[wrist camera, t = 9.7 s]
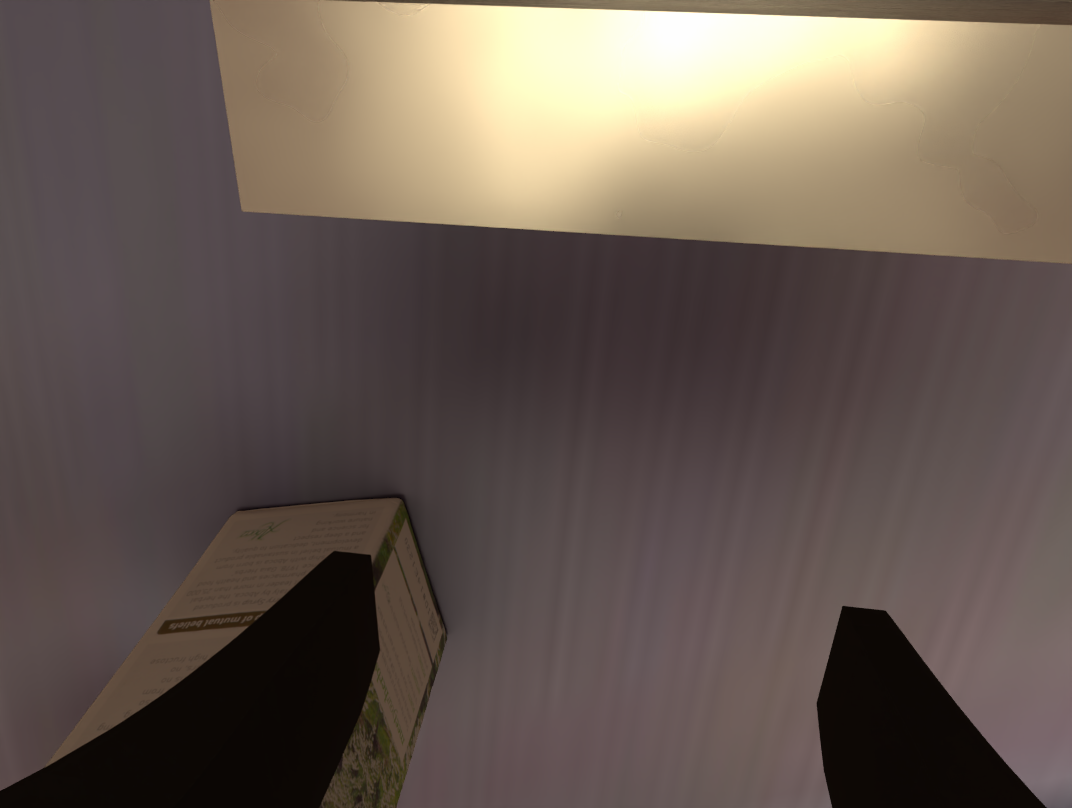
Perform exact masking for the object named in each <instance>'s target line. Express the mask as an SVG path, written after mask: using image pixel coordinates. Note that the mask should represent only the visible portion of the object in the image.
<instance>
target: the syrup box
mask: <svg viewBox="0 0 1072 808" xmlns="http://www.w3.org/2000/svg"><path fill="white" fill-rule="evenodd" d="M333 551H341V552H350V553H359V554H369V555H371V559H372V570H373V580H374V591H375V601H376V612H377V622H378V633H379V643H380V652H379V656H378V659H377V663H376V666H375V670H374V673H373V676H372V680H371V683H370V687H369V690H368V693H367V696H366V699H365V702H364V706H363V709H362V712H361V714H360V716H359V719H358V721H357V723H356V726H355V728H354V730H353V733H352V735H351V737H350V739H349V742H348V744H347V746H346V749H345V751H344V753H343V755H342V758H341V760H340V762H339V765H338V767H337V769H336V771H335V774H334V776H333V778H332V780H331V783H330V785H329V787H328V789H327V792H326V794H325V796H324V798H323V801H322V803H321V805H320V807H319V808H396V807H397V803H398V800H399V796H400V792H401V790H402V786H403V783H404V780H405V777H406V774H407V771H408V767H409V764H410V760H411V757H412V754H413V751H414V747H415V743H416V740H417V737H418V733H419V730H420V727H421V724H422V721H423V718H424V713H425V710H426V707H427V704H428V700H429V696H430V692H431V689H432V686H433V683H434V680H435V677H436V674H437V671H438V667H439V663H440V661H441V657H442V653H443V650H444V647H445V643H446V640H447V636H446V632H445V628H444V625H443V622H442V619H441V615H440V613H439V610H438V607H437V604H436V601H435V598H434V594H433V592H432V589H431V586H430V583H429V580H428V577H427V573H426V571H425V568H424V565H423V561H422V558H421V555H420V552H419V549H418V546H417V542H416V539H415V536H414V533H413V530H412V527H411V524H410V520H409V516H408V514H407V511H406V508H405V506H404V503H403V501H402V500H401V499H399V498H384V499H366V500H350V501H338V502H328V503H316V504H306V505H295V506H285V507H276V508H264V509H255V510H247V511H237V512H236V513H235V514H233V515H232V516H230V518H229V519H228V520H227V522H226V523H225V525H224V526H223V527H222V529H221V530H220V531H219V533H218V534H217V535H216V537H215V538H214V540H213V541H212V542H211V544H210V545H209V547H208V548H207V550H206V551H205V552H204V554H203V555H202V557H201V558H200V560H199V561H198V562H197V564H196V565H195V566H194V568H193V569H192V571H191V572H190V573H189V575H188V576H187V578H186V579H185V580H184V582H183V583H182V584H181V586H180V587H179V588H178V590H177V591H176V592H175V594H174V595H173V596H172V598H171V599H170V600H169V602H168V603H167V605H166V606H165V607H164V609H163V610H162V611H161V613H160V614H159V615H158V617H157V618H156V620H155V621H154V622H153V624H152V625H151V626H150V627H149V629H148V630H147V631H146V633H145V634H144V636H143V637H142V638H141V640H140V641H139V642H138V644H137V645H136V646H135V648H134V649H133V650H132V652H131V653H130V654H129V656H128V657H127V658H126V660H125V661H124V662H123V664H122V665H121V666H120V668H119V669H118V670H117V672H116V673H115V674H114V676H113V677H112V678H111V680H110V681H109V682H108V684H107V685H106V686H105V688H104V689H103V690H102V692H101V693H100V694H99V696H98V697H97V698H96V700H95V701H94V702H93V704H92V705H91V706H90V708H89V709H88V710H87V712H86V713H85V714H84V716H83V717H82V718H81V720H80V721H79V722H78V724H77V725H76V726H75V728H74V729H73V730H72V732H71V733H70V734H69V736H68V737H67V738H66V740H65V741H64V742H63V744H62V745H61V746H60V748H59V749H58V750H57V751H56V753H55V754H54V755H53V757H52V758H51V759H50V761H49V762H48V763H47V765H46V766H45V767H47V766H48V765H50V764H52V763H53V762H55V761H57V760H59V759H60V758H62V757H64V756H65V755H67V754H69V753H71V752H72V751H74V750H76V749H77V748H79V747H81V746H82V745H84V744H86V743H88V742H89V741H91V740H93V739H94V738H96V737H98V736H99V735H101V734H103V733H105V732H106V731H108V730H110V729H111V728H113V727H114V726H116V725H118V724H119V723H121V722H122V721H124V720H125V719H127V718H128V717H130V716H131V715H133V714H134V713H136V712H137V711H139V710H140V709H142V708H143V707H145V706H146V705H148V704H149V703H151V702H152V701H154V700H155V699H157V698H158V697H159V696H161V695H162V694H164V693H165V692H166V691H168V690H169V689H170V688H172V687H173V686H175V685H176V684H177V683H179V682H180V681H181V680H183V679H184V678H185V677H187V676H188V675H189V674H190V673H192V672H193V671H194V670H196V669H197V668H198V667H199V666H201V665H202V664H203V663H204V662H206V661H207V660H208V659H210V658H211V657H212V656H213V655H215V654H216V653H217V652H218V651H220V650H221V649H222V648H224V647H225V646H226V645H227V644H228V643H230V642H231V641H232V640H233V639H234V638H236V637H237V636H238V635H239V634H240V633H241V632H243V631H244V630H245V629H246V628H247V627H248V626H250V625H251V624H252V623H253V622H254V621H255V620H257V619H258V618H259V617H260V616H261V615H262V614H264V613H265V612H266V611H267V610H268V609H269V608H270V607H272V606H273V605H274V604H275V603H276V602H277V601H278V600H279V599H280V598H282V597H283V596H284V595H285V594H286V593H287V592H288V591H289V590H290V589H292V588H293V587H294V586H295V585H296V584H297V583H298V582H299V581H300V580H301V579H303V578H304V577H305V576H306V575H307V574H308V573H309V572H310V571H311V570H312V569H313V568H315V567H316V566H317V565H318V564H319V563H320V562H321V561H322V560H324V559H325V558H326V557H327V556H328V555H329V554H331V553H332V552H333ZM45 767H44V768H45Z"/></svg>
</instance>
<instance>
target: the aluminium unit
mask: <svg viewBox="0 0 1072 808" xmlns="http://www.w3.org/2000/svg"><path fill="white" fill-rule="evenodd" d="M210 6H211V12H212V19H213V25H214V32H215V38H216V45H217V52H218V58H219V65H220V71H221V78H222V84H223V91H224V97H225V104H226V111H227V117H228V124H229V130H230V137H231V143H232V150H233V157H234V163H235V170H236V176H237V183H238V189H239V196H240V203H241V209H242V211H245V212H261V213H277V214H293V215H308V216H324V217H340V218H356V219H372V220H388V221H404V222H419V223H435V224H451V225H467V226H483V227H499V228H514V229H530V230H546V231H562V232H578V233H594V234H610V235H625V236H641V237H657V238H673V239H689V240H705V241H720V242H736V243H752V244H768V245H784V246H800V247H816V248H831V249H847V250H863V251H879V252H895V253H911V254H927V255H942V256H958V257H974V258H990V259H1006V260H1022V261H1037V262H1053V263H1069V264H1072V0H210Z"/></svg>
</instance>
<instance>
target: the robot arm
mask: <svg viewBox="0 0 1072 808" xmlns="http://www.w3.org/2000/svg"><path fill="white" fill-rule="evenodd" d="M379 652H380V643H379V633H378V622H377V612H376V601H375V591H374V580H373V570H372V559H371V555H369V554H359V553H350V552H341V551H333V552H332V553H331V554H329V555H328V556H327V557H326V558H325V559H324V560H322V561H321V562H320V563H319V564H318V565H317V566H316V567H315V568H313V569H312V570H311V571H310V572H309V573H308V574H307V575H306V576H305V577H304V578H303V579H301V580H300V581H299V582H298V583H297V584H296V585H295V586H294V587H293V588H292V589H290V590H289V591H288V592H287V593H286V594H285V595H284V596H283V597H282V598H280V599H279V600H278V601H277V602H276V603H275V604H274V605H273V606H272V607H270V608H269V609H268V610H267V611H266V612H265V613H264V614H262V615H261V616H260V617H259V618H258V619H257V620H255V621H254V622H253V623H252V624H251V625H250V626H248V627H247V628H246V629H245V630H244V631H243V632H241V633H240V634H239V635H238V636H237V637H236V638H234V639H233V640H232V641H231V642H230V643H228V644H227V645H226V646H225V647H224V648H222V649H221V650H220V651H218V652H217V653H216V654H215V655H213V656H212V657H211V658H210V659H208V660H207V661H206V662H204V663H203V664H202V665H201V666H199V667H198V668H197V669H196V670H194V671H193V672H192V673H190V674H189V675H188V676H187V677H185V678H184V679H183V680H181V681H180V682H179V683H177V684H176V685H175V686H173V687H172V688H170V689H169V690H168V691H166V692H165V693H164V694H162V695H161V696H159V697H158V698H157V699H155V700H154V701H152V702H151V703H149V704H148V705H146V706H145V707H143V708H142V709H140V710H139V711H137V712H136V713H134V714H133V715H131V716H130V717H128V718H127V719H125V720H124V721H122V722H121V723H119V724H118V725H116V726H114V727H113V728H111V729H110V730H108V731H106V732H105V733H103V734H101V735H99V736H98V737H96V738H94V739H93V740H91V741H89V742H88V743H86V744H84V745H82V746H81V747H79V748H77V749H76V750H74V751H72V752H71V753H69V754H67V755H65V756H64V757H62V758H60V759H59V760H57V761H55V762H53V763H52V764H50V765H48V766H47V767H45V768H43V769H41V770H39V771H37V772H36V773H34V774H32V775H30V776H28V777H26V778H24V779H22V780H20V781H18V782H17V783H15V784H13V785H11V786H9V787H7V788H5V789H3V790H1V791H0V808H319V807H320V805H321V803H322V801H323V798H324V796H325V794H326V792H327V789H328V787H329V785H330V783H331V780H332V778H333V776H334V774H335V771H336V769H337V767H338V765H339V762H340V760H341V758H342V755H343V753H344V751H345V749H346V746H347V744H348V742H349V739H350V737H351V735H352V733H353V730H354V728H355V726H356V723H357V721H358V719H359V716H360V714H361V712H362V709H363V706H364V702H365V699H366V696H367V693H368V690H369V687H370V683H371V680H372V676H373V673H374V670H375V666H376V663H377V659H378V656H379ZM817 711H818V721H819V731H820V741H821V750H822V758H823V766H824V773H825V777H826V782H827V786H828V791H829V795H830V799H831V804H832V808H1046V807H1045V806H1044V804H1043V803H1042V802H1041V801H1040V800H1039V799H1038V798H1037V797H1036V796H1035V795H1034V794H1033V793H1032V792H1031V791H1030V790H1029V788H1028V787H1027V786H1026V785H1025V784H1024V783H1023V782H1022V781H1021V779H1020V778H1019V777H1018V776H1017V775H1016V774H1015V773H1014V772H1013V771H1012V769H1011V768H1010V767H1009V766H1008V765H1007V764H1006V763H1005V762H1004V760H1003V759H1002V758H1001V757H1000V756H999V755H998V753H997V752H996V751H995V750H994V749H993V748H992V746H991V745H990V744H989V743H988V742H987V741H986V739H985V738H984V737H983V736H982V734H981V733H980V732H979V731H978V730H977V728H976V727H975V726H974V725H973V723H972V722H971V721H970V720H969V718H968V717H967V716H966V715H965V714H964V712H963V711H962V710H961V709H960V707H959V706H958V705H957V704H956V703H955V701H954V700H953V699H952V697H951V696H950V695H949V694H948V692H947V691H946V690H945V688H944V687H943V686H942V685H941V683H940V682H939V681H938V679H937V678H936V677H935V675H934V674H933V673H932V671H931V670H930V669H929V668H928V666H927V665H926V664H925V662H924V661H923V660H922V658H921V657H920V656H919V654H918V653H917V652H916V650H915V649H914V648H913V646H912V645H911V644H910V642H909V641H908V640H907V638H906V637H905V635H904V634H903V633H902V631H901V630H900V629H899V627H898V626H897V625H896V623H895V622H894V621H893V619H892V618H891V617H890V616H889V614H888V613H887V612H886V611H884V610H874V609H865V608H856V607H847V606H842V610H841V614H840V618H839V621H838V625H837V629H836V633H835V636H834V640H833V644H832V648H831V651H830V655H829V659H828V663H827V666H826V670H825V674H824V678H823V681H822V685H821V689H820V693H819V697H818V700H817Z"/></svg>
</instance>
